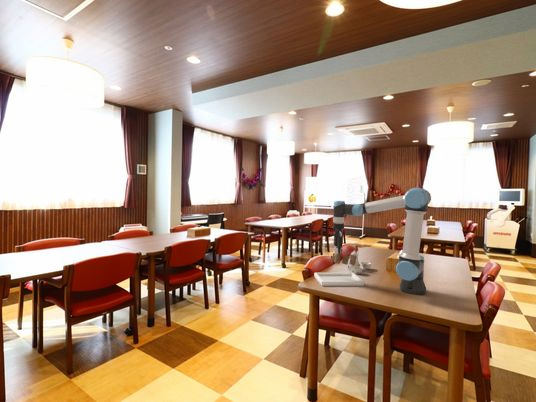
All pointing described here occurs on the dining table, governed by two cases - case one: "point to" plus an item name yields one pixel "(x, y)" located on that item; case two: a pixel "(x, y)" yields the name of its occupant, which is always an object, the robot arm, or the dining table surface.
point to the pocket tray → (338, 279)
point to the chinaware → (358, 265)
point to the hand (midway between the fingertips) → (337, 256)
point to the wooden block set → (345, 258)
